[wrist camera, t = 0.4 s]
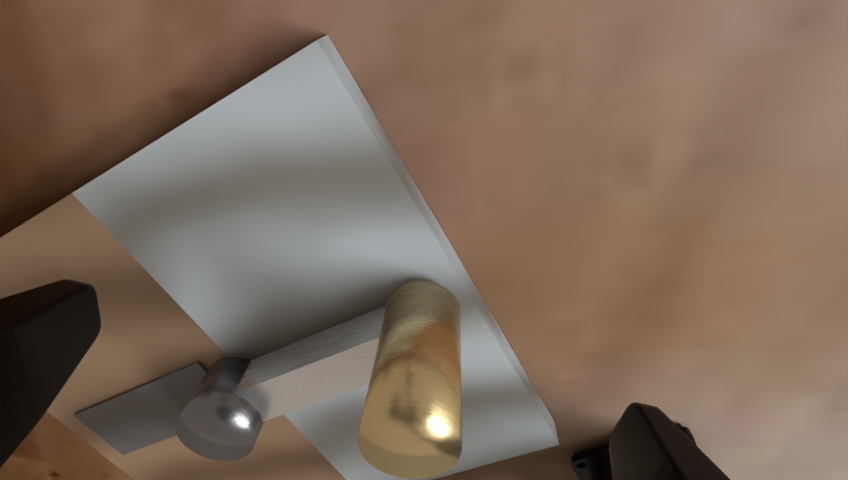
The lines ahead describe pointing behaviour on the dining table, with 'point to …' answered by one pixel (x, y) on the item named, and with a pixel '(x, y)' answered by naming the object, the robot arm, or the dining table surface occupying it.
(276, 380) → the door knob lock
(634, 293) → the dining table surface
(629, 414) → the robot arm
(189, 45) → the dining table surface
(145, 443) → the door board
